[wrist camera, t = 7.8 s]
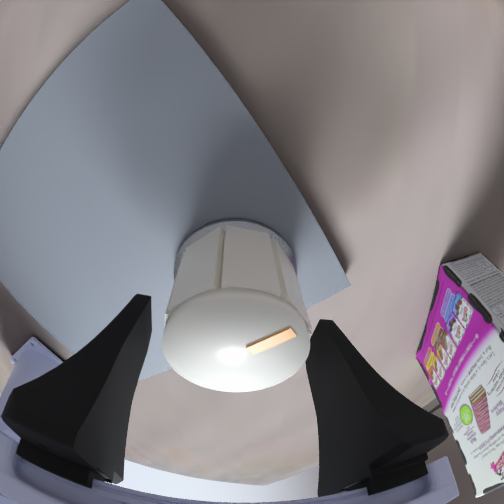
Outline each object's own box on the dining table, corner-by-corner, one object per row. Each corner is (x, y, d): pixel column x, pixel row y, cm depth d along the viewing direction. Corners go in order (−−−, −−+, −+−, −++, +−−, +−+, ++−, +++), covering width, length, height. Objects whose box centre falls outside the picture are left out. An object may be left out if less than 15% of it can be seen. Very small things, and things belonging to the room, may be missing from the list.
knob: (223, 330, 16) (220, 404, 12) (159, 264, 14) (131, 339, 9) (308, 289, 15) (331, 364, 11) (253, 206, 12) (262, 271, 8)
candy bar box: (452, 340, 22) (516, 468, 8) (413, 356, 22) (471, 501, 8) (483, 246, 16) (602, 400, 2) (438, 260, 16) (563, 453, 2)
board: (121, 378, 22) (118, 387, 21) (-29, 227, 13) (-36, 233, 12) (345, 275, 16) (350, 285, 16) (155, -7, 8) (149, -14, 7)
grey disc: (222, 331, 17) (220, 384, 14) (151, 259, 14) (128, 310, 11) (315, 285, 15) (333, 337, 12) (253, 192, 13) (260, 231, 9)
